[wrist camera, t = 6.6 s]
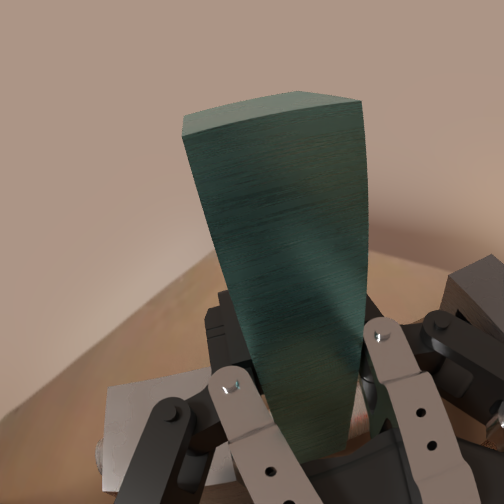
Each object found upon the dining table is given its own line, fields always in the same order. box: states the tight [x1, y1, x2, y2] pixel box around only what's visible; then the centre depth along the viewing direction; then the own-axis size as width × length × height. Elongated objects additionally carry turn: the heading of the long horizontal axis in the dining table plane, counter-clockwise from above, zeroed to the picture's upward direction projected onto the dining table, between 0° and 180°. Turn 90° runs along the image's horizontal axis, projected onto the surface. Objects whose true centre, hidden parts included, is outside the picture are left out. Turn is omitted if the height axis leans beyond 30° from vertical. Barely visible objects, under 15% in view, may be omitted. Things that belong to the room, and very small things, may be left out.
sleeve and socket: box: [102, 254, 504, 504], centre depth 14 cm, size 24×7×6 cm, turn 102°
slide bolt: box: [95, 91, 369, 475], centre depth 10 cm, size 19×3×16 cm, turn 102°
